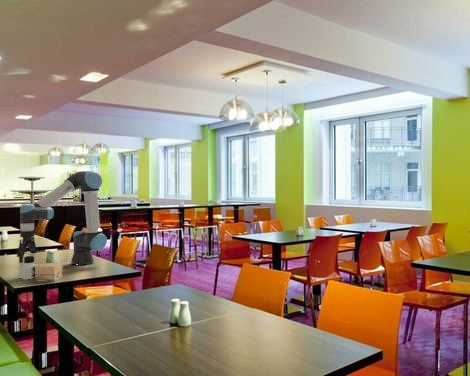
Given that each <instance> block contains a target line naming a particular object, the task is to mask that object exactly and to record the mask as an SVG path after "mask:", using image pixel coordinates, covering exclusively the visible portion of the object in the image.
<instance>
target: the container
mask: <svg viewBox="0 0 470 376" xmlns="http://www.w3.org/2000/svg"><path fill="white" fill-rule="evenodd" d="M23 257H24V268H19V267H18V279H19V278H32V277H35V276H36V273H35V266H38V265H39V263H38V264H36V263H35V264H34V257H33V256H30V255H26V256H25V255H24V256H23Z"/></svg>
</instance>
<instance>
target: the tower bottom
mask: <svg viewBox="0 0 470 376" xmlns="http://www.w3.org/2000/svg"><path fill="white" fill-rule="evenodd" d="M61 276H62V277H63V270H62V271H60V272H58V273H56V274H36V278H35V281H36V280H55V279H57V278H59V277H61Z"/></svg>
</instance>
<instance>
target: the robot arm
mask: <svg viewBox="0 0 470 376" xmlns="http://www.w3.org/2000/svg"><path fill="white" fill-rule="evenodd" d="M102 178H103V177H102V176H101V174H100V173H99V172H98V171H95V170H94V171H93V170H87V171H84V170H82V171H77V172H75V173H74V174H72V175H70V176H69V177H67V178H66V179H64V181H63V183H61V184H60V185H59V186H57V187H56V188H54V189H53V190H51V191H50V192H49V193H47V194H46V195H44V196H43V197H42V198H40V199H39V200H37V201H36V202H34V203H33V204H29V203H28V204H20V205H21V206H20V209H19V210H20V211H19V213H20V225H19V226H20V233H19V234H20V235H19V236H20V238H22V239H19V244H18V249H17V253H16V257H17V258H18V269H19V268H24V257H25V253H26V250H27V249H28V250H29V256H33V257H34V264H36V254H37V252H38V251H37V250H38V249H37V246H36V240H35V231H34V230H35V221H38V220H39V221H40V220H51V219H53V218H54V214H55V211H54V208H52V206H54V204H56V203H57V202H60V201H61V200H62V198H64V197H66V196H67V195H69V193H73V192H76V190H79V189H80V192H81V193H82V194H83V199H84V210H85V220H86V230H81V231H80V230H79V231H74V232H73V235H72V236H73V237H72V238H73V254H72V257H71V261H70V265H71V264H78V265H77V266H83V265H82V264H89V265H91V264H90V263H93V262H94V263H95V260H94V257H93V254H92V251H94V252H97V251H98V252H99V251H102V250H103V249H105V247H106V246H107V244H108V238H107V236H106V235H105V234H104V232H103V229H102V228H101V222H100V210H99V209H100V208H99V198H98V193H99V191H100V187H101V186H102V184H103V179H102ZM94 263H93V264H94Z"/></svg>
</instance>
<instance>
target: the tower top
mask: <svg viewBox="0 0 470 376" xmlns="http://www.w3.org/2000/svg"><path fill="white" fill-rule="evenodd" d="M60 271H62V272H63V262H43V263H40V264H38V266H35V273H36V274H56V273H58V272H60Z"/></svg>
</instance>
